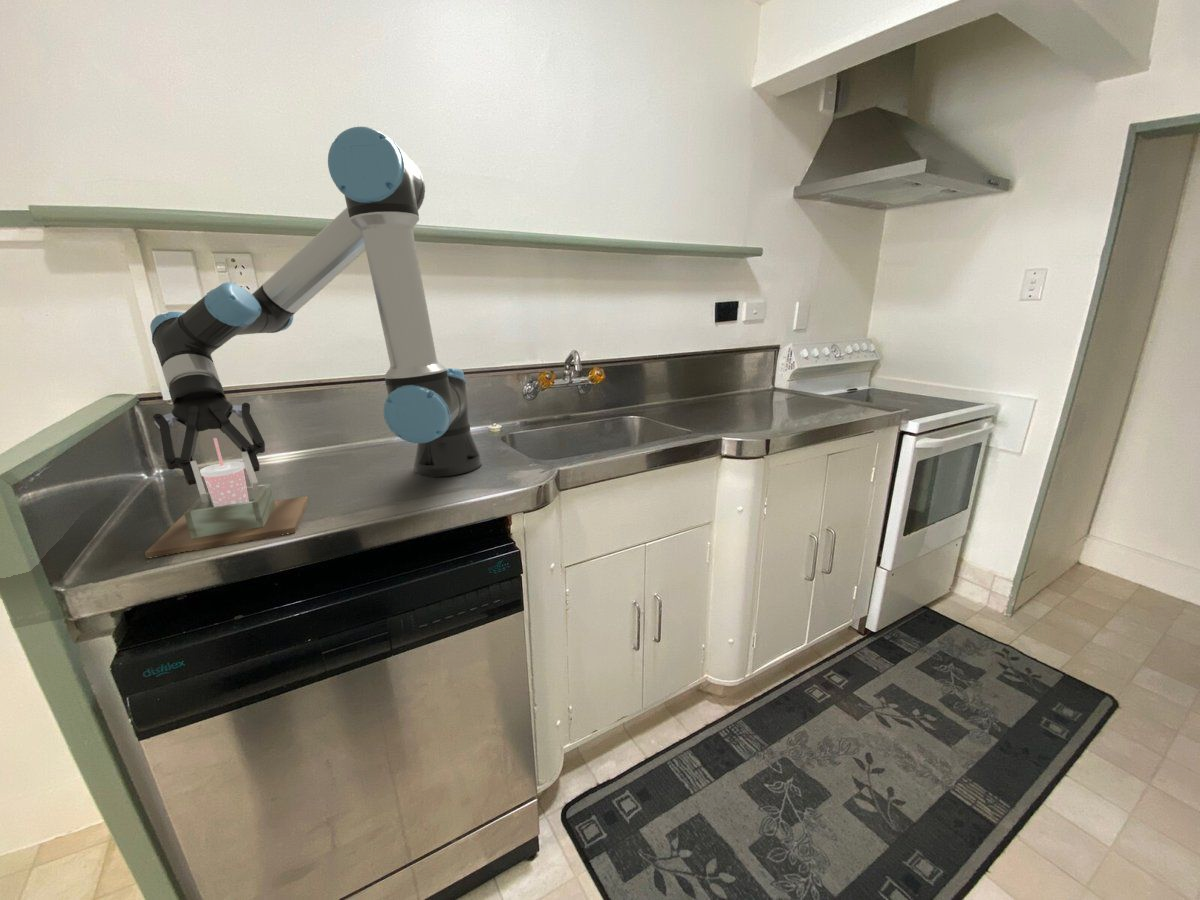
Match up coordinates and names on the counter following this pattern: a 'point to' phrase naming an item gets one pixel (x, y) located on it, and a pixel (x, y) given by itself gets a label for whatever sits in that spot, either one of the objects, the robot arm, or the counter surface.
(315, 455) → the counter surface
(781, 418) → the counter surface
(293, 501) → the cup holder
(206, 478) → the beverage cup
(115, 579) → the counter surface
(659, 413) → the counter surface
